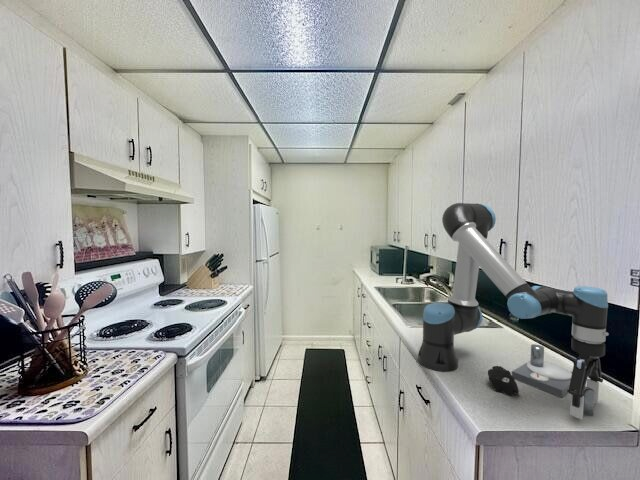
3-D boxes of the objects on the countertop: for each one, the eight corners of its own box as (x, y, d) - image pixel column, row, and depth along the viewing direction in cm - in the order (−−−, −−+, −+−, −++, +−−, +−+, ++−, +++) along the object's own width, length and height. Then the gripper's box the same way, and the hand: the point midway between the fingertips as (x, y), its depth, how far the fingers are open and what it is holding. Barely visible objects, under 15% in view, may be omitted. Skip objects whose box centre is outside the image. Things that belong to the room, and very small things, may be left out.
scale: (561, 397, 97) (562, 387, 97) (511, 377, 110) (511, 368, 109) (581, 381, 107) (581, 372, 107) (533, 365, 120) (533, 356, 119)
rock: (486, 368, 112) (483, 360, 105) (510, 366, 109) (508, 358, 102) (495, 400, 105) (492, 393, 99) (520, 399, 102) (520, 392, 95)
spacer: (540, 368, 110) (541, 349, 109) (528, 364, 113) (529, 346, 113) (545, 365, 112) (546, 347, 111) (533, 361, 115) (533, 343, 115)
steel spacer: (590, 417, 87) (592, 394, 87) (573, 410, 91) (574, 388, 90) (595, 412, 90) (596, 390, 89) (578, 406, 93) (579, 384, 92)
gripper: (590, 354, 79) (586, 431, 80) (617, 334, 93) (613, 401, 94) (556, 344, 85) (552, 416, 86) (586, 327, 99) (582, 389, 100)
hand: (584, 408), depth 90 cm, fingers open, 13 cm apart
